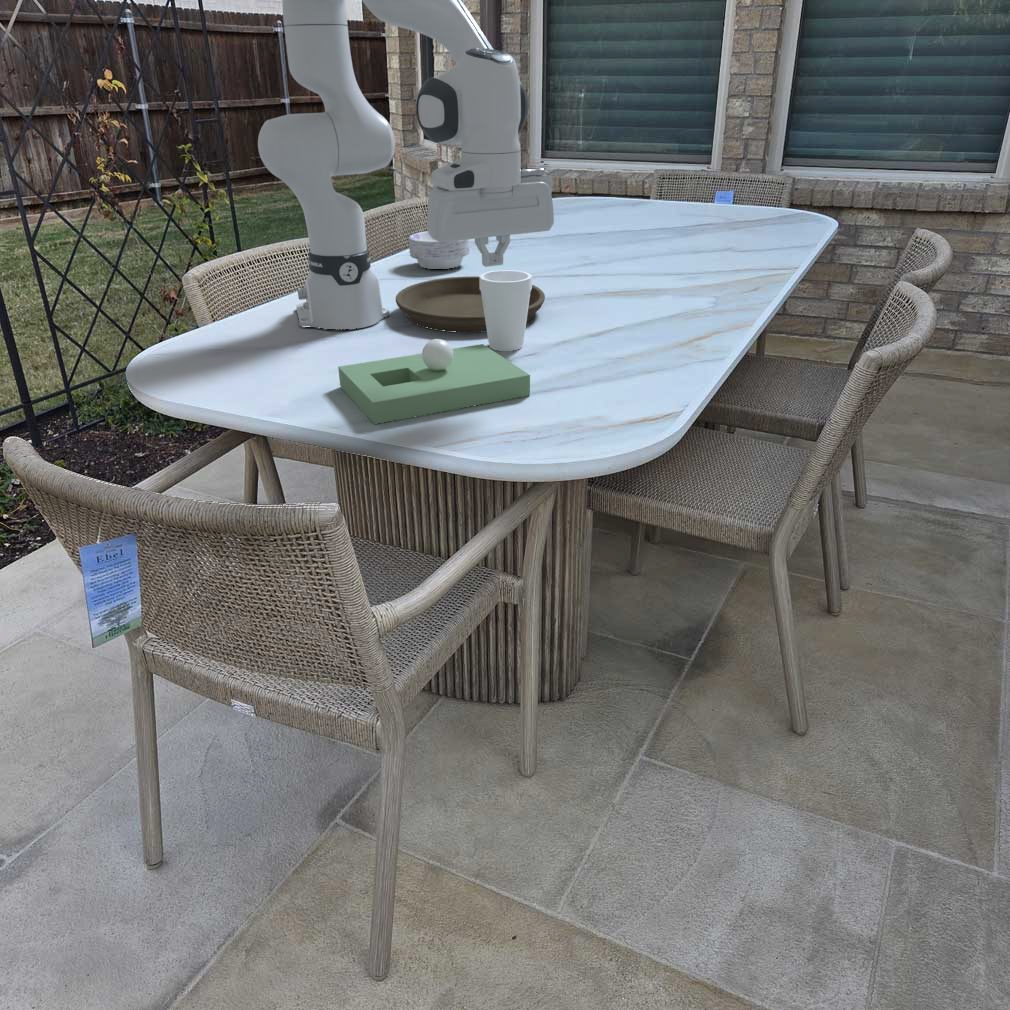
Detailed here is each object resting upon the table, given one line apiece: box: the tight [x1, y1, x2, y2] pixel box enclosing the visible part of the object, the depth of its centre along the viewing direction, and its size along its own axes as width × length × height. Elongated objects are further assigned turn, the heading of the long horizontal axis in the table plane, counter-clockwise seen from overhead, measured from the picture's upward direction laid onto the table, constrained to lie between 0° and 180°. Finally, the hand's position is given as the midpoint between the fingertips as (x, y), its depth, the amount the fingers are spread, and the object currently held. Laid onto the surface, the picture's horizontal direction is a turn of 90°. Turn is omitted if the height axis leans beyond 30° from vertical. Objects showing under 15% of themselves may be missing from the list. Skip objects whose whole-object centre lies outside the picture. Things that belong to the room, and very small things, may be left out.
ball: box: [421, 338, 453, 371], centre depth 137 cm, size 5×5×5 cm
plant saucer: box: [395, 275, 546, 333], centre depth 178 cm, size 31×31×5 cm
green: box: [337, 343, 531, 425], centre depth 138 cm, size 18×26×4 cm
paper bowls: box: [408, 230, 470, 270], centre depth 217 cm, size 15×15×8 cm
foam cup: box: [478, 269, 533, 352], centre depth 157 cm, size 10×9×13 cm
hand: (492, 265), depth 134 cm, fingers closed
